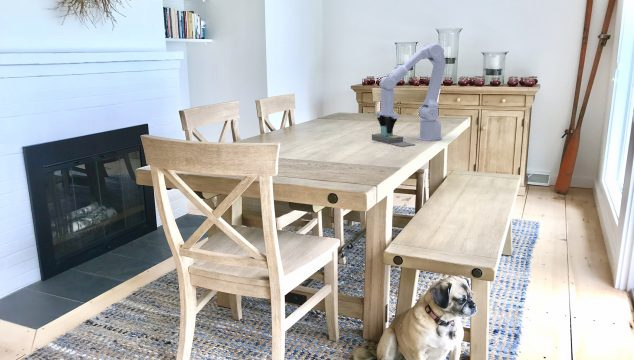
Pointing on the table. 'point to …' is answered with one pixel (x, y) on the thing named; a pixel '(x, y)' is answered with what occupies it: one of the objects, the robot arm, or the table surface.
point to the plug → (385, 131)
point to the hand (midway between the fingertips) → (386, 132)
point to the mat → (402, 144)
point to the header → (387, 138)
